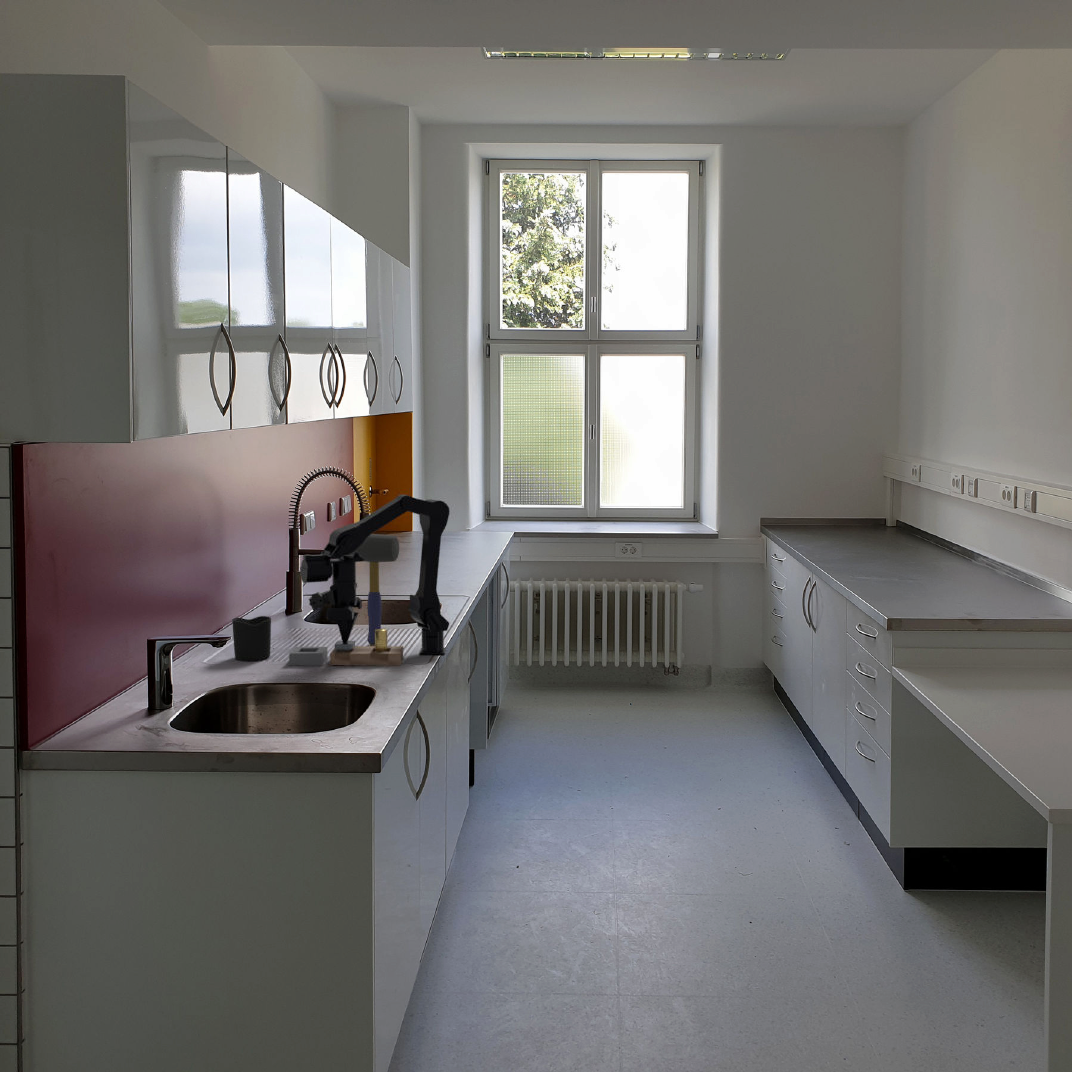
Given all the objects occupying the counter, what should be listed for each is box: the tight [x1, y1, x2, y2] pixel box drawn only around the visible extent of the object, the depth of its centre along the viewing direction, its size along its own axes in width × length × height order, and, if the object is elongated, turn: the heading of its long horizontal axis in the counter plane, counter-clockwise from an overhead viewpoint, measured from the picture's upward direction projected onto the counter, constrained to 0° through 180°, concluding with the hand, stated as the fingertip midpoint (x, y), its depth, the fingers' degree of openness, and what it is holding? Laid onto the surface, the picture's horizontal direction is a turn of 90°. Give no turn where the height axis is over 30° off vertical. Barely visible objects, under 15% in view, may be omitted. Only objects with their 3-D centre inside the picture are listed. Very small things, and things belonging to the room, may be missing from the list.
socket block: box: [329, 645, 404, 667], centre depth 264 cm, size 9×17×3 cm, turn 92°
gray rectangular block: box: [334, 640, 356, 651], centre depth 264 cm, size 4×4×5 cm
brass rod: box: [375, 628, 388, 652], centre depth 264 cm, size 3×3×8 cm
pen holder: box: [231, 615, 272, 662], centre depth 268 cm, size 9×9×10 cm
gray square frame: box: [288, 646, 329, 666], centre depth 264 cm, size 8×8×3 cm
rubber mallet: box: [348, 533, 400, 646], centre depth 283 cm, size 12×8×30 cm, turn 78°
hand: (345, 642), depth 264 cm, fingers closed, pressing on gray rectangular block
